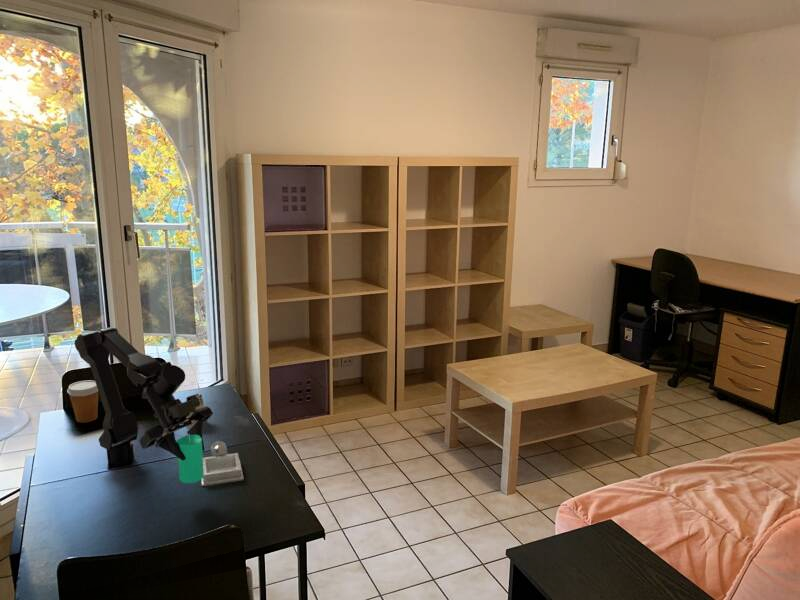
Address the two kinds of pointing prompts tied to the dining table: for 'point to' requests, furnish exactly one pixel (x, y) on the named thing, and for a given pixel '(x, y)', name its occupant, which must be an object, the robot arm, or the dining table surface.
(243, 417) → the dining table surface
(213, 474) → the white tray
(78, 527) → the dining table surface
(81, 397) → the disposable coffee cup
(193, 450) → the candle
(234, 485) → the dining table surface
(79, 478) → the dining table surface
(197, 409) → the lighter
